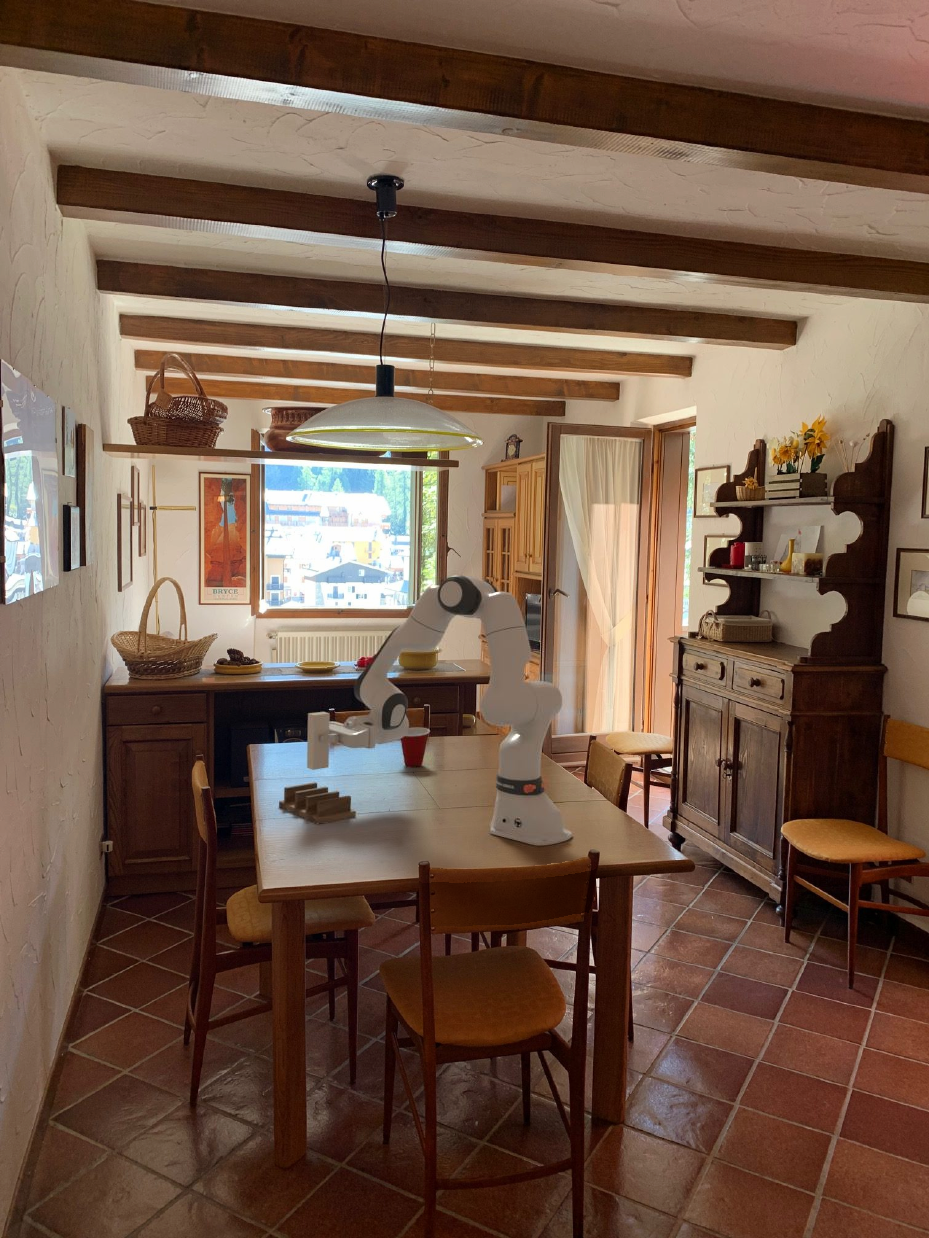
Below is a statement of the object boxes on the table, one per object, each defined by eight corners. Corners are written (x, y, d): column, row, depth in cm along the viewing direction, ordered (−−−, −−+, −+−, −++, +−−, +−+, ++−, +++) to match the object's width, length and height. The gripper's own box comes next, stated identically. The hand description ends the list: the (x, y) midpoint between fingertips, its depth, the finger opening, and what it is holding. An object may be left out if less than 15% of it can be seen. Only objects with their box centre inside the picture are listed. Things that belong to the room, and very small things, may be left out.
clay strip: (328, 767, 254) (329, 713, 253) (312, 769, 251) (313, 715, 250) (322, 765, 256) (323, 711, 255) (307, 767, 253) (308, 713, 252)
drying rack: (355, 816, 251) (356, 796, 251) (317, 824, 243) (318, 803, 243) (315, 799, 266) (316, 780, 265) (278, 806, 258) (279, 787, 258)
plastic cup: (391, 762, 313) (392, 727, 312) (420, 760, 318) (421, 726, 317) (404, 770, 304) (405, 734, 303) (434, 767, 309) (435, 732, 308)
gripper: (337, 714, 269) (295, 719, 260) (378, 726, 254) (336, 732, 244) (336, 736, 269) (295, 741, 260) (378, 749, 254) (336, 755, 245)
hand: (315, 737), depth 252 cm, fingers closed on clay strip, 3 cm apart
